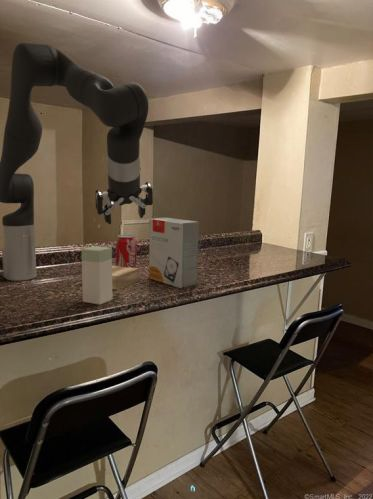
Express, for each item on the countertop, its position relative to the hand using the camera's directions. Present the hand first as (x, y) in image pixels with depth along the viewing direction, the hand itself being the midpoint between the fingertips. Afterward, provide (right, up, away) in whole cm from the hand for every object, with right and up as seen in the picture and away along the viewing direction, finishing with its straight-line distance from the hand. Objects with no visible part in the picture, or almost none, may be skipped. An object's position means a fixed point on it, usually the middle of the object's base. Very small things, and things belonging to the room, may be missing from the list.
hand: (124, 218), depth 103 cm
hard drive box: (+12, -19, +22) cm, 31 cm away
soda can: (-5, -16, +34) cm, 38 cm away
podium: (-7, -19, +19) cm, 28 cm away
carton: (-7, -22, +1) cm, 23 cm away
